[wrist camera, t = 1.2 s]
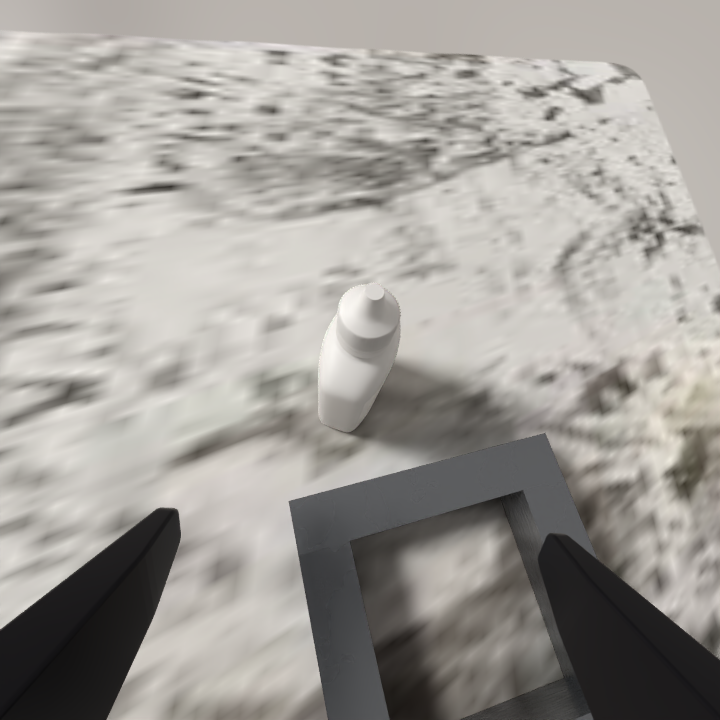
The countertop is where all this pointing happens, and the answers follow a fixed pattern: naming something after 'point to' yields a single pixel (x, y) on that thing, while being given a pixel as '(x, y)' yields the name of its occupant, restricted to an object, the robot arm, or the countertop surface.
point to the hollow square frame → (410, 504)
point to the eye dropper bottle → (357, 355)
